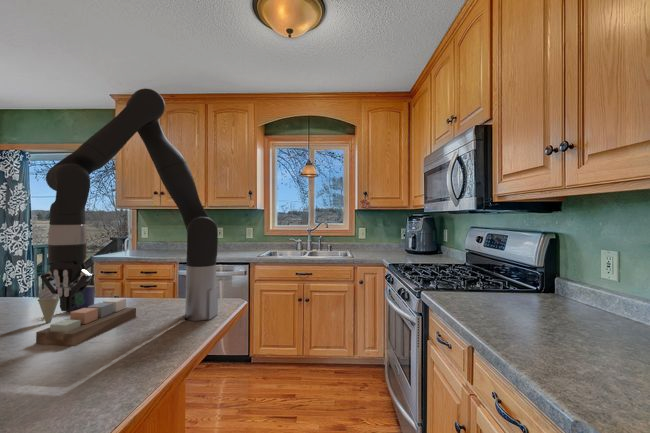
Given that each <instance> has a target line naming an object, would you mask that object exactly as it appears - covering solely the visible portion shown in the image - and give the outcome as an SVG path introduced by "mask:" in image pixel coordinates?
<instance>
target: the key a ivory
mask: <svg viewBox="0 0 650 433" xmlns="http://www.w3.org/2000/svg"><path fill="white" fill-rule="evenodd" d="M102 303H113V312H117V311H120V310H122V309H125V308H126V307H127V298H125V297H124V298H123V297H121V298H120V297H112V298H110V299H107V300H103V301H102Z"/></svg>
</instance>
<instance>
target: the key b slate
mask: <svg viewBox="0 0 650 433" xmlns="http://www.w3.org/2000/svg"><path fill="white" fill-rule="evenodd" d="M88 308H98V318H102V317H104V316H107V315H109V314H112V313H113V303H103V302H97V303H94V305H91V306H88Z"/></svg>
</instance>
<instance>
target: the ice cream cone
mask: <svg viewBox="0 0 650 433" xmlns="http://www.w3.org/2000/svg"><path fill="white" fill-rule="evenodd" d="M55 288H56V287H55ZM37 301H38V304H39V307H40V310H41V313H42V316H43V318H44V321H45V324H52V323H51V322H52V319H53V318H54V314H55V312H56V308H57V306H58V303H59V302H60V297H59V296H58V294H52V293H51V291H50V290H49V289H48V287H47V286H46V285H45V284H44V285H43V289H41V290H40V292H39V293H38V299H37Z"/></svg>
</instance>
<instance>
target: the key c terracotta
mask: <svg viewBox="0 0 650 433" xmlns="http://www.w3.org/2000/svg"><path fill="white" fill-rule="evenodd" d="M69 313H70V314H69V319H71V320H81V324H87V323H89V322H92V321H94V320H97V319H98V308H82V309H79V310H75V311H72V312H69Z"/></svg>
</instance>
